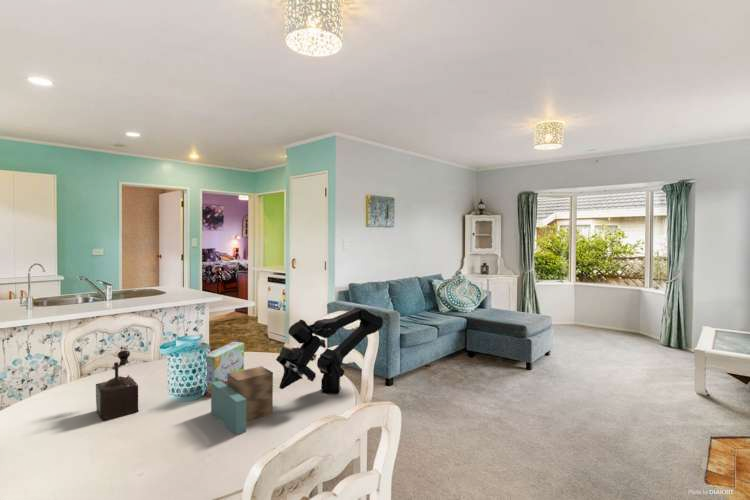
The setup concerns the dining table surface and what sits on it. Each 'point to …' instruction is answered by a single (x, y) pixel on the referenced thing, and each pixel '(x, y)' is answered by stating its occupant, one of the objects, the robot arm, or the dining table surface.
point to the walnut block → (254, 390)
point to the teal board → (228, 407)
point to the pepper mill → (117, 393)
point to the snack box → (224, 363)
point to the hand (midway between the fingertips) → (280, 388)
